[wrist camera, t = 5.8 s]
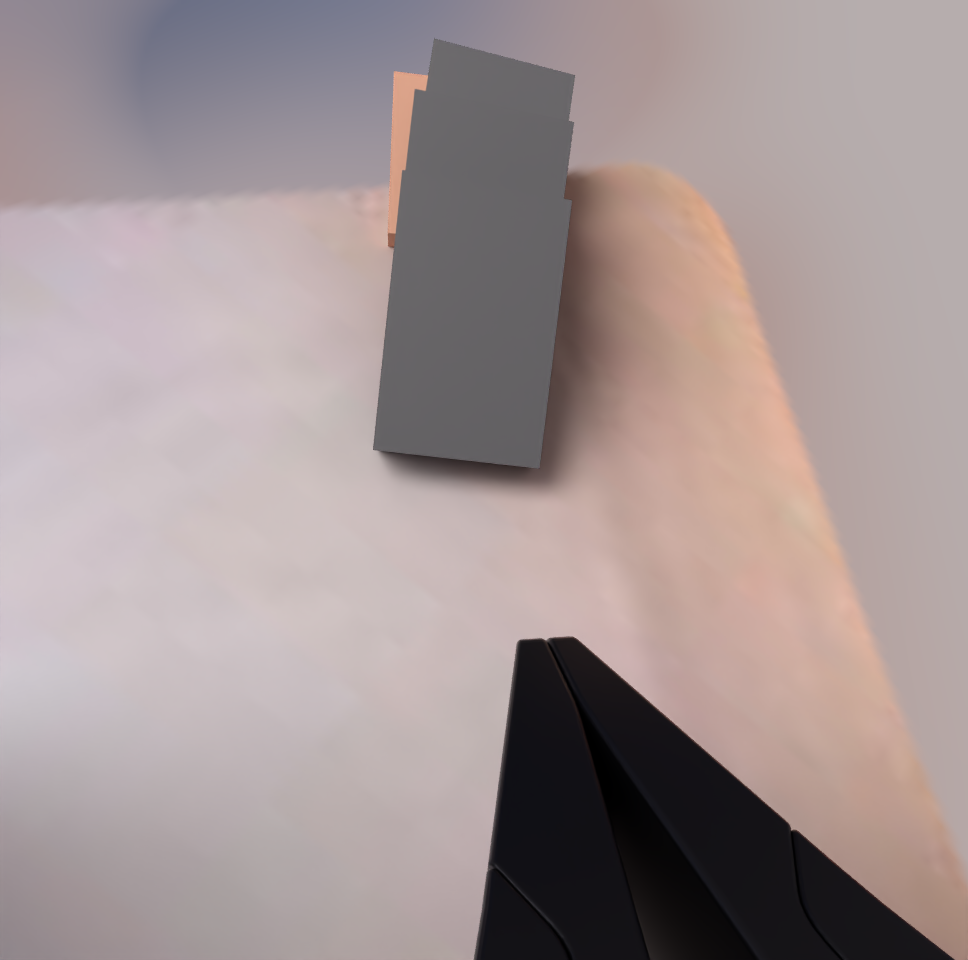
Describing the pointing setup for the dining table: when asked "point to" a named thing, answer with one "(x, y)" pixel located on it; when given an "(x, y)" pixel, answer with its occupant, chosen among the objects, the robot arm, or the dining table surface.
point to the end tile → (400, 138)
